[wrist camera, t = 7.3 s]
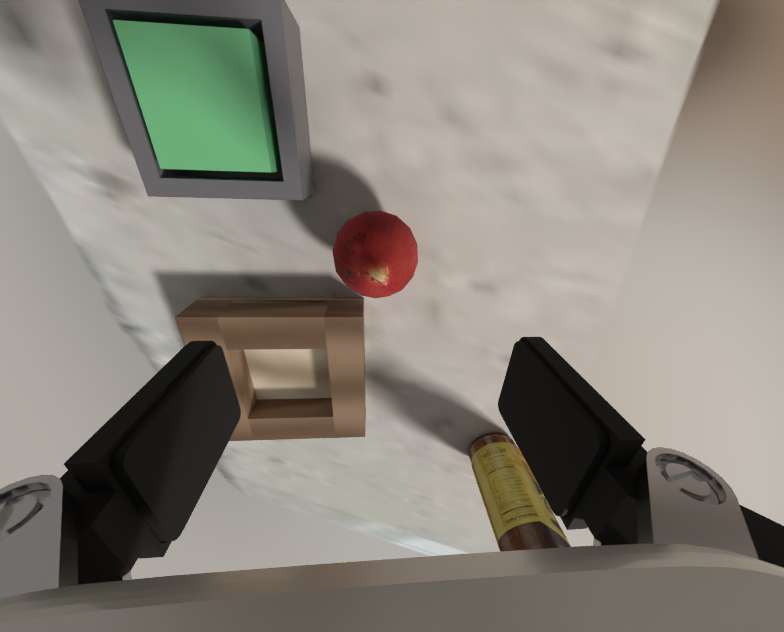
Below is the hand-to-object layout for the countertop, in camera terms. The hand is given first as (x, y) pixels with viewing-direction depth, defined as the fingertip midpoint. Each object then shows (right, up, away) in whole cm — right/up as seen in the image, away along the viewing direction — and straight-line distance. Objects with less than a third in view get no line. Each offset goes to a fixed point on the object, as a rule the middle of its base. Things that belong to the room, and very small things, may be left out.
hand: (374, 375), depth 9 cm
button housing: (-9, +15, +9) cm, 20 cm away
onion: (-1, +8, +14) cm, 16 cm away
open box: (-9, -3, +19) cm, 21 cm away
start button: (-9, +14, +8) cm, 19 cm away
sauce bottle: (+13, -15, +27) cm, 34 cm away
